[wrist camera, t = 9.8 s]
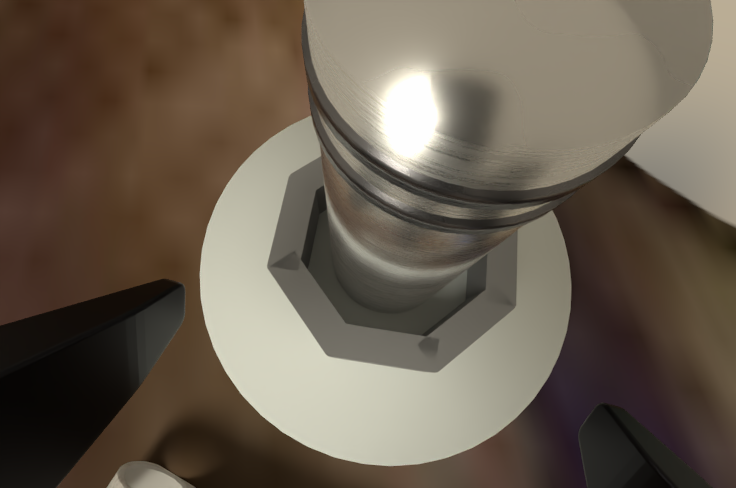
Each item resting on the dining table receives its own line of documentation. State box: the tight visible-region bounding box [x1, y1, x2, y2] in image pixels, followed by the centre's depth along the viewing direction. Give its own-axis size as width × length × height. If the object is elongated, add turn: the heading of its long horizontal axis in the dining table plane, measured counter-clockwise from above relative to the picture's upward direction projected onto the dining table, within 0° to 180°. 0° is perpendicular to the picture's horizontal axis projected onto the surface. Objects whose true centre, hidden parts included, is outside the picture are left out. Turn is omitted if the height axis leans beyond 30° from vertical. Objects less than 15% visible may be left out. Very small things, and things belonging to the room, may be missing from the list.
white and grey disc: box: [200, 116, 571, 466], centre depth 17 cm, size 17×17×4 cm
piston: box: [302, 0, 713, 314], centre depth 11 cm, size 5×5×13 cm
